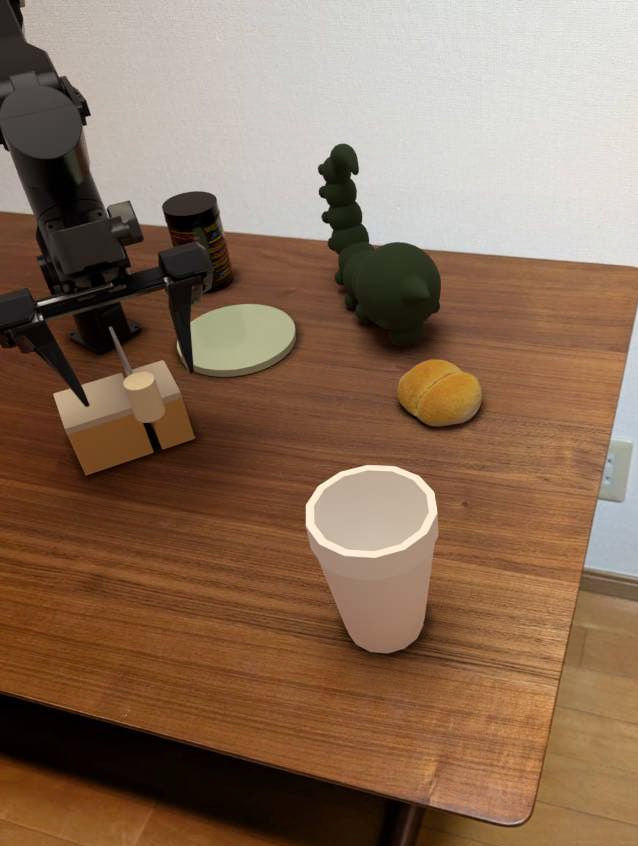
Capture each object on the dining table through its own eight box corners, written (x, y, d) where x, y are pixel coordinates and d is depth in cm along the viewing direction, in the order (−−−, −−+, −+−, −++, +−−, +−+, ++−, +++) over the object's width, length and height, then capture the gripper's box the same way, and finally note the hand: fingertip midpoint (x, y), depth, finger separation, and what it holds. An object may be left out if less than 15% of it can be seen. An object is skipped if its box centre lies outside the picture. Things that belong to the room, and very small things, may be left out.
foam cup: (328, 584, 72) (305, 471, 62) (434, 573, 72) (429, 458, 62) (330, 675, 65) (305, 564, 56) (447, 663, 65) (443, 550, 56)
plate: (154, 351, 98) (151, 344, 98) (240, 299, 105) (238, 292, 105) (235, 391, 92) (233, 384, 91) (320, 333, 99) (319, 325, 98)
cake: (73, 440, 88) (52, 393, 83) (138, 418, 89) (121, 372, 85) (85, 475, 83) (64, 428, 79) (153, 452, 85) (136, 405, 81)
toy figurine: (316, 297, 108) (395, 380, 90) (287, 142, 95) (373, 204, 78) (381, 277, 110) (471, 355, 93) (362, 124, 98) (462, 181, 80)
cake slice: (147, 416, 90) (130, 369, 85) (178, 406, 91) (163, 359, 86) (162, 450, 86) (145, 402, 81) (195, 438, 86) (180, 391, 82)
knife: (114, 377, 85) (84, 298, 79) (139, 369, 86) (111, 290, 80) (157, 475, 74) (126, 393, 68) (185, 465, 75) (157, 383, 69)
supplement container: (239, 267, 111) (222, 190, 104) (228, 293, 107) (210, 214, 99) (190, 268, 112) (169, 191, 104) (177, 294, 107) (155, 216, 100)
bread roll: (442, 440, 84) (441, 409, 81) (386, 402, 89) (383, 371, 86) (500, 405, 87) (501, 373, 84) (443, 369, 92) (442, 338, 89)
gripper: (-70, 202, 61) (12, 404, 62) (178, 143, 66) (250, 330, 67) (-33, 259, 71) (36, 430, 72) (177, 205, 76) (240, 365, 77)
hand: (140, 389), depth 72 cm, fingers open, 9 cm apart
